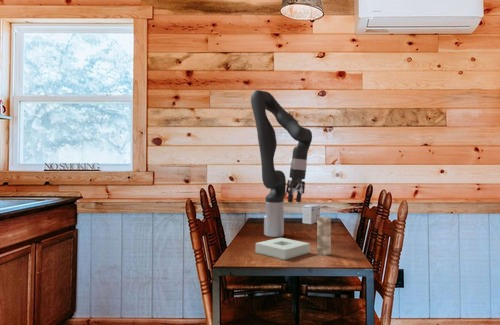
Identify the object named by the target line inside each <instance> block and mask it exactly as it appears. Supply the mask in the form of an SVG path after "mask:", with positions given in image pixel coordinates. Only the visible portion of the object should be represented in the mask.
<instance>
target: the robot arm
mask: <svg viewBox="0 0 500 325" xmlns="http://www.w3.org/2000/svg"><path fill="white" fill-rule="evenodd" d="M250 104H251V108H252V113H253V116H254V120H255V127H256V131H257V132H256V133H257V141H258V146H259V154H260V155H259V156H260V161H261V178H262V183H263V186H264V187H265V188H266V189H269V193H268V194H267V195H266V196H265V215H264V217H263V235H265V236H266V237H271V238H281V237H283V236H284V233H285V232H284V229H285V228H284V225H285V223H284V222H285V221H284V218H285V216H284V212H285V210H284V209H285V208H284V204H285V203H284V201H285V196H286V193H287V203H291V204H292V203H293V201H294V200H293V199H294V193H295V192H296V198H295V201H296V202H295V203H301V202H302V201H301V200H302V195H303V194H305V189H306V188H305V186H306V181H303V180H306V173H307V165H308V164H307V161H308V152H309V150H310V146H311V144H312V140H313V133H312V130H311V129H309V128H306V127H303V126H302V125H300V124H299V122H298V120H297V119H296V118H295V117H294V116H292V115H291V114H290V113H289V112H288V111H286V109H285V108H283V107H282V105H281V104H279V102H278V101H277V99H276V98H275V97H274V96H273V94H272V93H270V92H269V91H266V90H265V91H264V90H259V89H256V90H253V92H251V95H250ZM266 111H268V112H269V113H271V114H272V115H273V116H274V118H275V119H276V122H277V123H278V124H279V126H281V127H282V128H283V129H284V130H285V131H287V133H288V134H289V135H290V136H291V138H293V140H294V141H297V142H298V143H297V145H296V146H295V147H293V150H292V157H291V162H290V168H289V178H291V179H288V180H287V181H286V179H287V178H286V175H285V173H284V172H283V170H279V169H277V170H276V169H275V163H274V160H275V159H274V157H275V154H276V150H277V142H278V141H277V137H276V136H277V135H276V131H275V128H274V127H273V125H272V124H271V121H270V120H269V117H268V115H267V112H266Z"/></svg>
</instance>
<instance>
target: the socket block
mask: <svg viewBox="0 0 500 325" xmlns="http://www.w3.org/2000/svg"><path fill="white" fill-rule="evenodd" d="M310 245H311V244H310V243H309V242H305V241H301V240H295V239H290V238H284V237H275V238H272V239H268V240H263V241H259V242H258V241H257V242H255V251H254V252H255V253H256V254H259V255H263V256H267V257H270V258H275V259H279V260H283V261H287V260H290V259H293V258H296V257H301V256H304V255H308V254H310V253H311V252H310V249H311V248H310V247H311V246H310Z"/></svg>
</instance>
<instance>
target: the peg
mask: <svg viewBox="0 0 500 325" xmlns="http://www.w3.org/2000/svg"><path fill="white" fill-rule="evenodd" d="M331 221H332V217H330V216H329V217H328V216H320V217H318V218H317V223H316V224H317V225H316V227H317V228H316V250H317V251H316V255H321V256H329V255H331V254H332V251H331V250H332V240H331V239H332V222H331Z"/></svg>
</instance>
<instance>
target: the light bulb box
mask: <svg viewBox="0 0 500 325" xmlns="http://www.w3.org/2000/svg"><path fill="white" fill-rule="evenodd" d="M301 207H302V209H301V211H302V224H308V225H313V224H317V218H318V217H321V205H320V204H314V203H313V204H312V203H311V204H306V205H302V206H301Z"/></svg>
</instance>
